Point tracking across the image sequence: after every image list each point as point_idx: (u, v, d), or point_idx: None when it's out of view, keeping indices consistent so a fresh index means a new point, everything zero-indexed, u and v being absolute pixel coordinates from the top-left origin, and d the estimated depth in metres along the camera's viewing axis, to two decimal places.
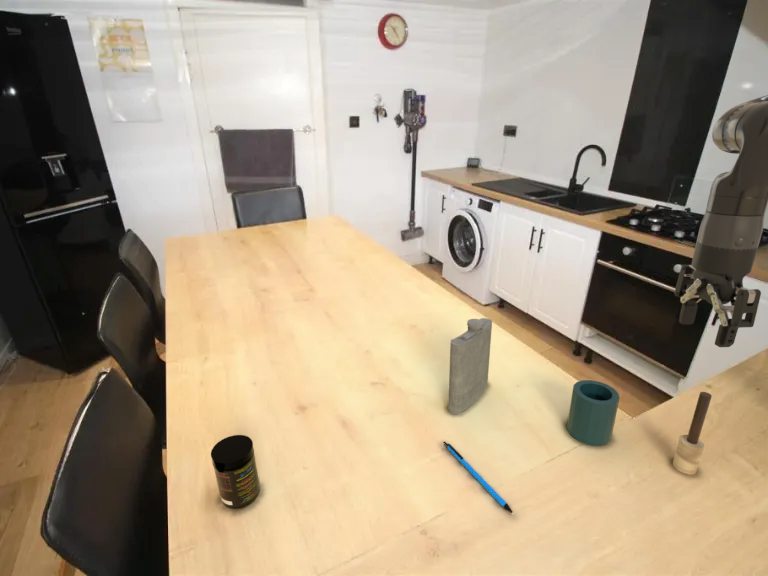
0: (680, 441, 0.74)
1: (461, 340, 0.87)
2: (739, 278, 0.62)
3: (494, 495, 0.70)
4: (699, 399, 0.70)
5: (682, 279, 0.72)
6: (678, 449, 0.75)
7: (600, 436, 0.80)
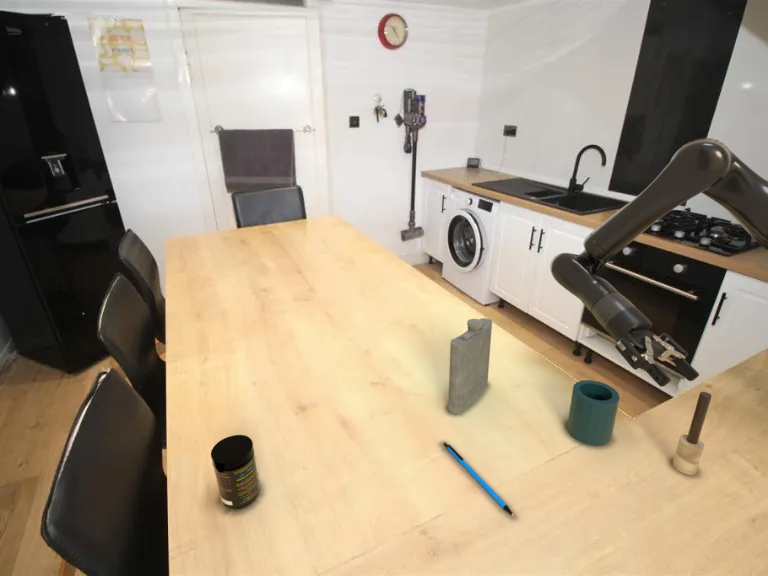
0: (680, 441, 0.74)
1: (461, 340, 0.87)
2: (625, 336, 0.82)
3: (494, 496, 0.70)
4: (699, 399, 0.70)
5: (663, 349, 0.85)
6: (678, 449, 0.75)
7: (600, 436, 0.80)
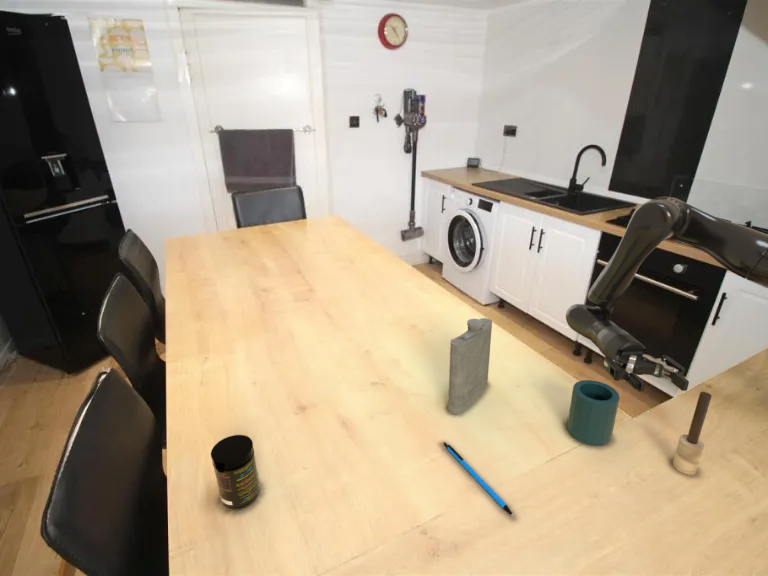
0: (680, 441, 0.74)
1: (461, 340, 0.87)
2: (615, 357, 0.91)
3: (494, 496, 0.70)
4: (699, 399, 0.70)
5: (666, 370, 0.88)
6: (678, 449, 0.75)
7: (600, 436, 0.80)
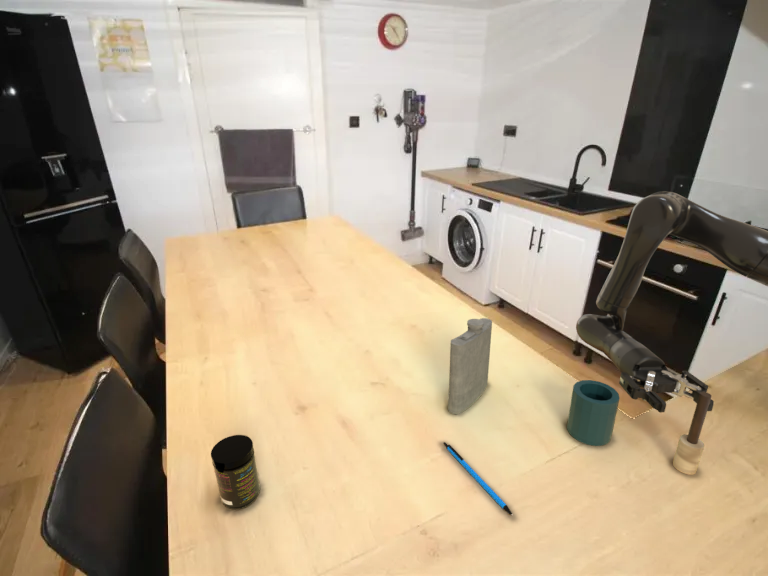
0: (680, 441, 0.74)
1: (461, 340, 0.87)
2: (631, 373, 0.85)
3: (494, 496, 0.70)
4: (699, 399, 0.70)
5: (687, 387, 0.82)
6: (678, 449, 0.75)
7: (600, 436, 0.80)
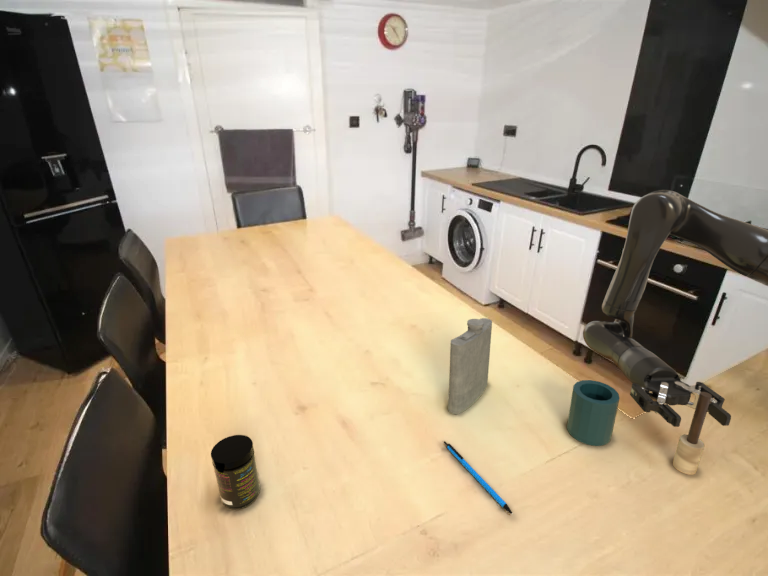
0: (680, 441, 0.74)
1: (461, 340, 0.87)
2: (643, 384, 0.81)
3: (494, 495, 0.70)
4: (699, 399, 0.70)
5: None
6: (678, 449, 0.75)
7: (600, 436, 0.80)
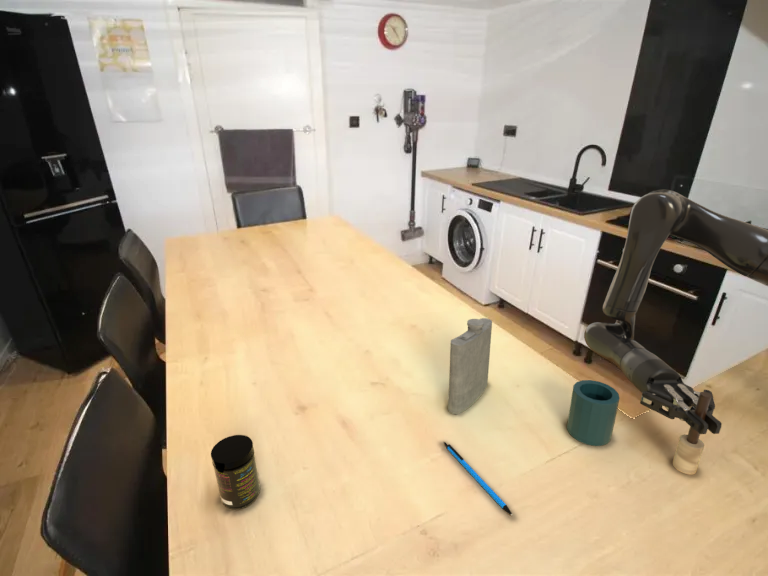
0: (680, 441, 0.74)
1: (461, 340, 0.87)
2: (645, 387, 0.81)
3: (493, 496, 0.70)
4: (699, 399, 0.70)
5: None
6: (678, 449, 0.75)
7: (600, 436, 0.80)
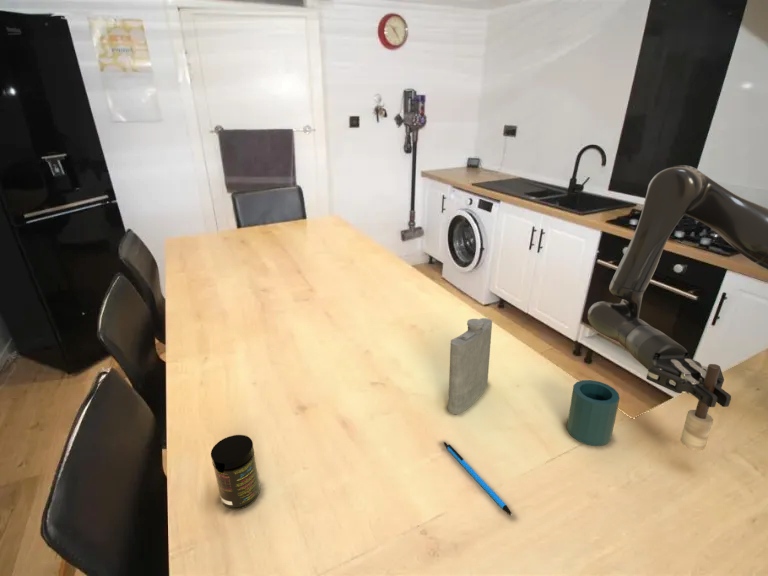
0: (688, 416, 0.72)
1: (461, 340, 0.87)
2: (651, 362, 0.79)
3: (493, 496, 0.70)
4: (707, 371, 0.68)
5: None
6: (686, 424, 0.72)
7: (600, 436, 0.80)
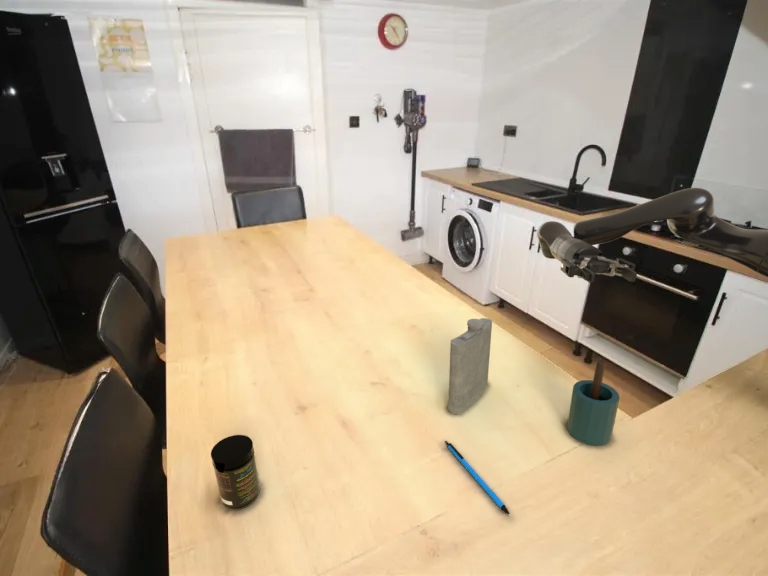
0: None
1: (461, 340, 0.87)
2: (572, 261, 0.95)
3: (492, 496, 0.70)
4: (596, 366, 0.80)
5: (619, 270, 0.93)
6: None
7: (600, 436, 0.80)
